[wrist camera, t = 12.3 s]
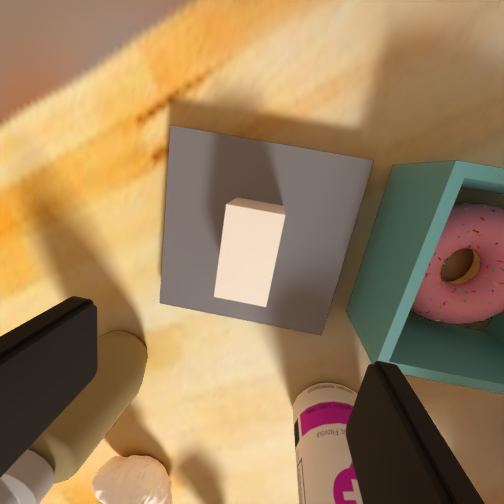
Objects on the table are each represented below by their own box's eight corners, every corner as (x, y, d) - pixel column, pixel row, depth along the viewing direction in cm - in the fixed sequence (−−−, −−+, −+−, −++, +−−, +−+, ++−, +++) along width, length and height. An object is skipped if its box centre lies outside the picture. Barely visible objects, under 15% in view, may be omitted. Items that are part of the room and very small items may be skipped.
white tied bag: (188, 469, 39) (198, 530, 29) (153, 525, 36) (150, 613, 26) (125, 426, 37) (111, 473, 27) (83, 480, 35) (50, 555, 24)
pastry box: (567, 194, 21) (730, 206, 14) (489, 339, 26) (578, 409, 18) (393, 164, 22) (456, 160, 14) (346, 311, 26) (374, 368, 19)
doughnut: (428, 178, 22) (462, 180, 18) (537, 232, 23) (592, 244, 19) (360, 282, 25) (376, 302, 21) (456, 326, 26) (488, 354, 22)
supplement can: (313, 367, 29) (350, 559, 14) (377, 397, 29) (474, 612, 15) (280, 414, 31) (283, 617, 17) (339, 441, 32) (390, 661, 17)
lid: (364, 161, 22) (404, 156, 15) (317, 322, 27) (332, 373, 20) (180, 129, 22) (138, 110, 16) (168, 293, 28) (132, 333, 21)
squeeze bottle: (170, 361, 30) (34, 606, 13) (122, 386, 32) (-52, 629, 15) (127, 309, 29) (-92, 512, 12) (79, 339, 31) (-171, 551, 13)
